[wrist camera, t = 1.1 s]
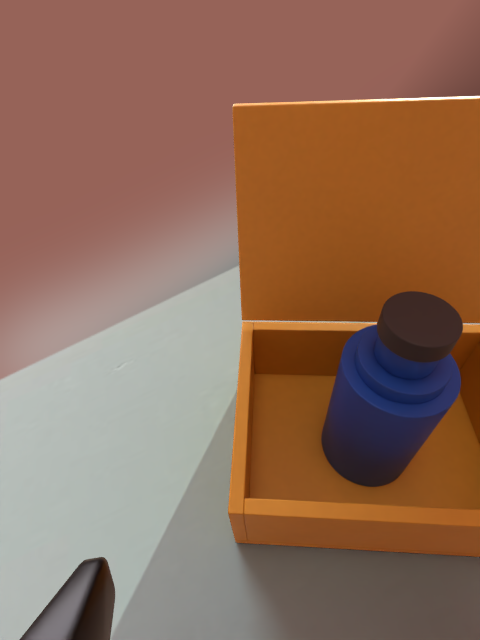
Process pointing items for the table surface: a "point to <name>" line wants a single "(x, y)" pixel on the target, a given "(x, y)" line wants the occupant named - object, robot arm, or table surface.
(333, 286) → the lunchbox lid
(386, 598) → the table surface
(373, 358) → the bottle
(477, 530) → the box
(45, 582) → the table surface
